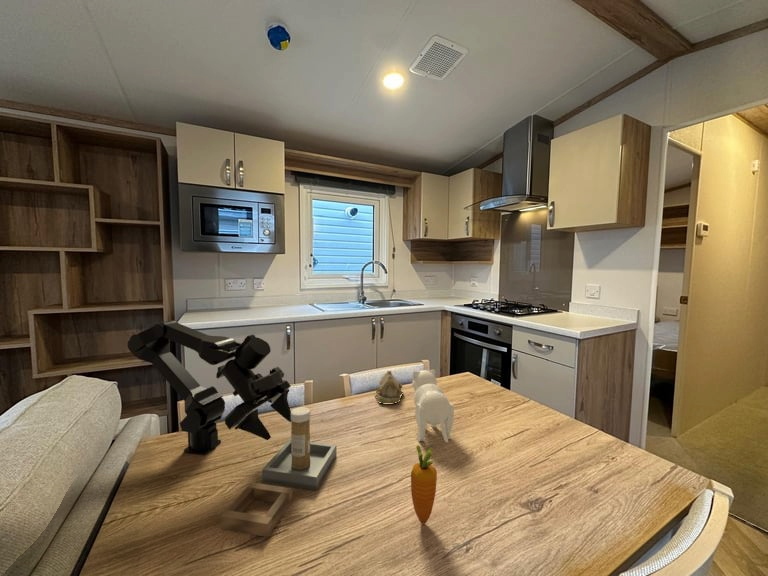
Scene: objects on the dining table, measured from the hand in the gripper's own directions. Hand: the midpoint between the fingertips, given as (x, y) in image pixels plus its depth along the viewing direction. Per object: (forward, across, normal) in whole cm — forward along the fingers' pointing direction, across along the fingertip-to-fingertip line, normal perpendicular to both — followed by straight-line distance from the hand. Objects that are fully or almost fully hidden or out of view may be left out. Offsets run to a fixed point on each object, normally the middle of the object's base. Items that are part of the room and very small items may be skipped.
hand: (281, 429), depth 79 cm
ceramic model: (+16, +48, -4) cm, 51 cm away
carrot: (+32, -8, -20) cm, 39 cm away
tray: (+10, 0, +2) cm, 11 cm away
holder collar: (+10, -15, +2) cm, 18 cm away
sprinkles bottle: (+10, 0, +2) cm, 10 cm away
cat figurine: (+30, +26, -17) cm, 43 cm away
